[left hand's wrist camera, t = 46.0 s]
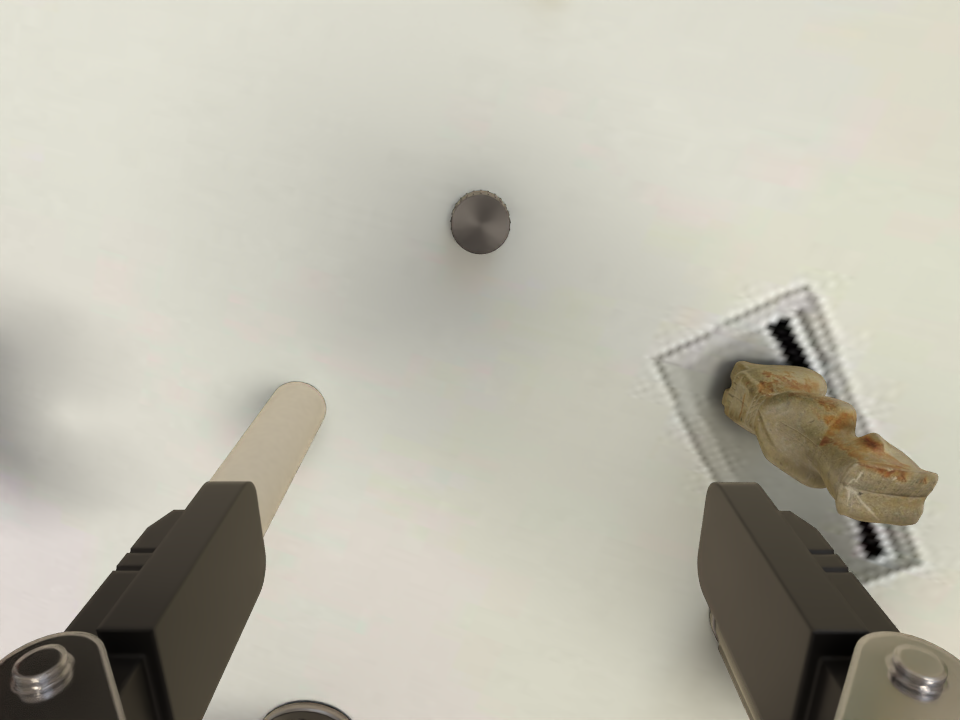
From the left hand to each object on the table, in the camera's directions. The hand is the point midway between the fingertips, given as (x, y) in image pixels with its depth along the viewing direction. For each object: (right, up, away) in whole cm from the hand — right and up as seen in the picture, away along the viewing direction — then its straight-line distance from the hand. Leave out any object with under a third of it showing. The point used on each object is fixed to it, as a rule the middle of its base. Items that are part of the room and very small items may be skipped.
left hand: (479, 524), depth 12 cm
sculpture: (+21, +1, +37) cm, 42 cm away
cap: (0, +12, +31) cm, 33 cm away
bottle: (-14, -1, +37) cm, 40 cm away
